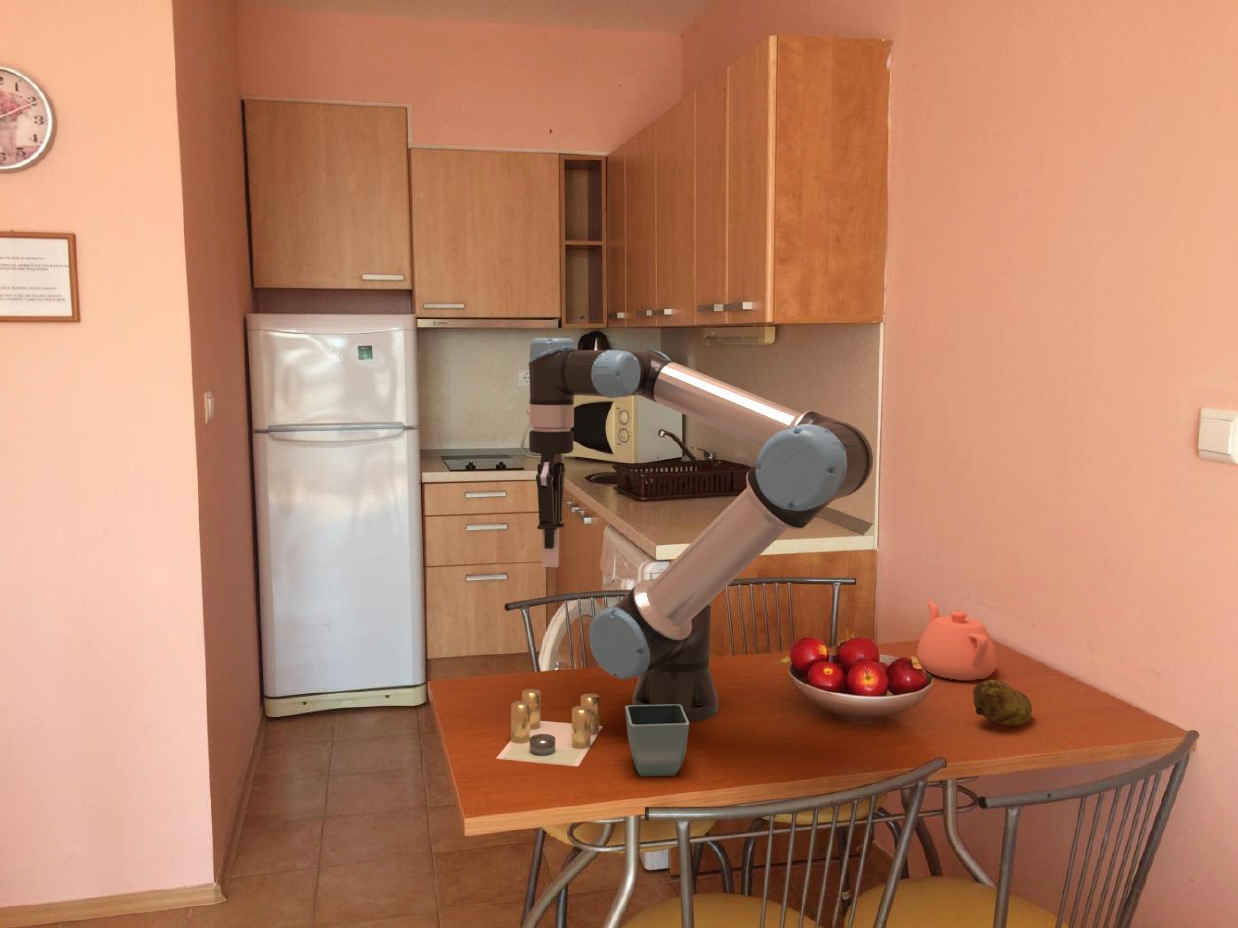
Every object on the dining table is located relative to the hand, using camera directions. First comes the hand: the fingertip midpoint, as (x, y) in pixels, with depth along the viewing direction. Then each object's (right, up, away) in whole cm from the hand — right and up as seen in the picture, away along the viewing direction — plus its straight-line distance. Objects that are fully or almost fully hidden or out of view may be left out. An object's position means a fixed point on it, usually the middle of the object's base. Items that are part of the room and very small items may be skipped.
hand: (550, 565), depth 177 cm
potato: (+78, -27, 0) cm, 82 cm away
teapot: (+79, -24, +29) cm, 87 cm away
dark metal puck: (0, -27, -16) cm, 32 cm away
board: (+1, -27, -12) cm, 30 cm away
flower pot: (+17, -29, -22) cm, 40 cm away
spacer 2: (-3, -26, -6) cm, 27 cm away
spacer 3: (+7, -27, -8) cm, 29 cm away
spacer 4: (+6, -27, -14) cm, 31 cm away
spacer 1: (-4, -27, -12) cm, 30 cm away
